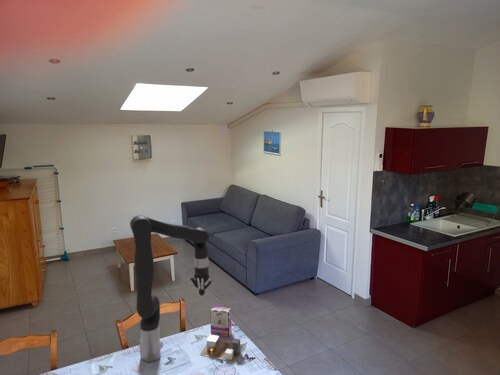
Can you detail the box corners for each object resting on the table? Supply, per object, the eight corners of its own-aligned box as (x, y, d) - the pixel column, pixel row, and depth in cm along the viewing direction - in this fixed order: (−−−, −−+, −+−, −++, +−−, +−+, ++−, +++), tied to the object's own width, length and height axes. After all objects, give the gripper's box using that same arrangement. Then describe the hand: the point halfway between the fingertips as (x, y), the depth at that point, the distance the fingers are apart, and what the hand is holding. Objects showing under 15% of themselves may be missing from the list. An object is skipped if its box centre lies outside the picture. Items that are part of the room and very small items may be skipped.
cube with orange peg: (204, 354, 182) (204, 343, 181) (210, 344, 190) (210, 334, 189) (213, 355, 181) (213, 345, 180) (219, 346, 189) (219, 336, 188)
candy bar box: (231, 334, 202) (231, 307, 199) (229, 339, 197) (228, 312, 194) (213, 331, 204) (212, 305, 202) (210, 336, 199) (209, 310, 197)
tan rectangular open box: (199, 356, 182) (198, 342, 181) (210, 341, 195) (209, 328, 194) (235, 364, 176) (235, 349, 175) (244, 347, 189) (243, 334, 188)
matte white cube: (224, 358, 179) (224, 352, 178) (227, 354, 182) (227, 348, 181) (231, 360, 178) (231, 353, 177) (233, 355, 181) (233, 349, 180)
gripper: (187, 265, 185) (187, 296, 188) (209, 269, 182) (210, 300, 184) (193, 260, 192) (194, 290, 195) (215, 263, 189) (216, 293, 192)
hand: (202, 294), depth 190 cm, fingers closed
